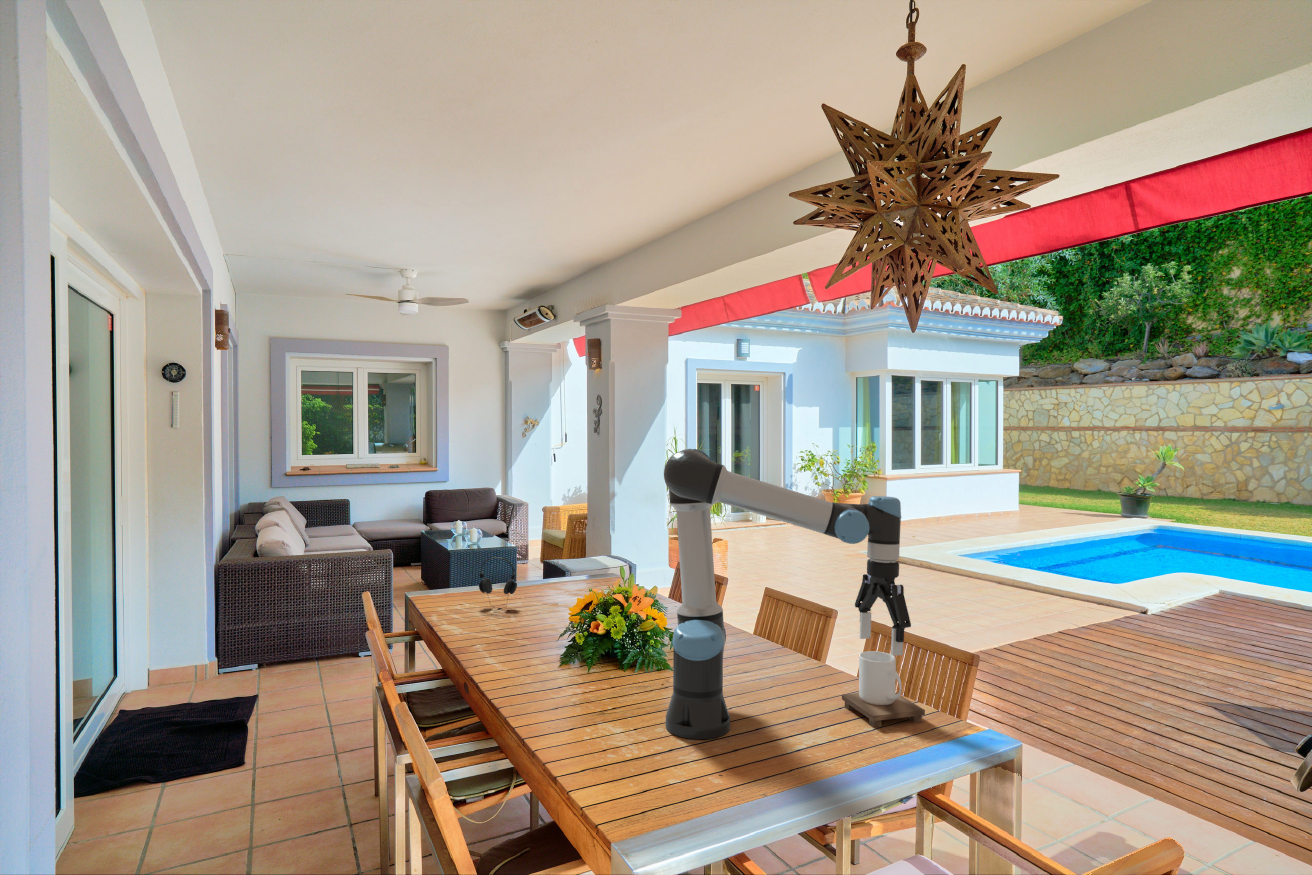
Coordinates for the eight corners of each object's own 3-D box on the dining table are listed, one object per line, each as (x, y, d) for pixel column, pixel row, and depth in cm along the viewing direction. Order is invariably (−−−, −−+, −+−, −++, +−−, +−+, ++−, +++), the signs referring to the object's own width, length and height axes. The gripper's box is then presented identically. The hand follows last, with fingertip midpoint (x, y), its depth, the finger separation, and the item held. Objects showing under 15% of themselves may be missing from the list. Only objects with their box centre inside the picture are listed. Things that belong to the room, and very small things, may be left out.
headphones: (471, 612, 272) (471, 560, 272) (482, 605, 284) (483, 555, 283) (508, 614, 270) (508, 561, 270) (519, 606, 281) (519, 556, 281)
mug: (887, 713, 168) (887, 667, 167) (851, 696, 178) (851, 653, 178) (913, 707, 171) (914, 662, 171) (877, 691, 182) (877, 649, 182)
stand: (873, 728, 166) (873, 715, 166) (841, 706, 180) (841, 694, 180) (924, 722, 170) (924, 709, 170) (890, 700, 183) (890, 689, 183)
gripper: (928, 569, 164) (925, 661, 164) (868, 550, 188) (865, 631, 188) (900, 570, 161) (897, 663, 162) (842, 551, 186) (840, 632, 186)
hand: (880, 646), depth 175 cm, fingers open, 13 cm apart
